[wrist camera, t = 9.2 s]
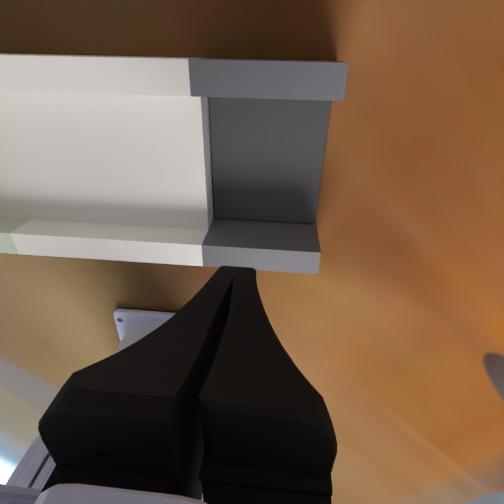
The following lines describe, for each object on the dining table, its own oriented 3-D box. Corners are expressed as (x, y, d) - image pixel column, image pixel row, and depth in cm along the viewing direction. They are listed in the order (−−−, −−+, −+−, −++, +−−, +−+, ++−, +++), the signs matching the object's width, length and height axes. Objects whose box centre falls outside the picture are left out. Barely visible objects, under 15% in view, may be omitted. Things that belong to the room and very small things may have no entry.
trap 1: (314, 220, 22) (314, 223, 22) (215, 215, 23) (214, 217, 22) (330, 94, 18) (331, 94, 18) (210, 90, 19) (208, 91, 18)
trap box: (313, 241, 23) (317, 273, 20) (-129, 215, 25) (-193, 239, 22) (337, 60, 17) (349, 62, 14) (-236, 48, 20) (-345, 47, 16)
